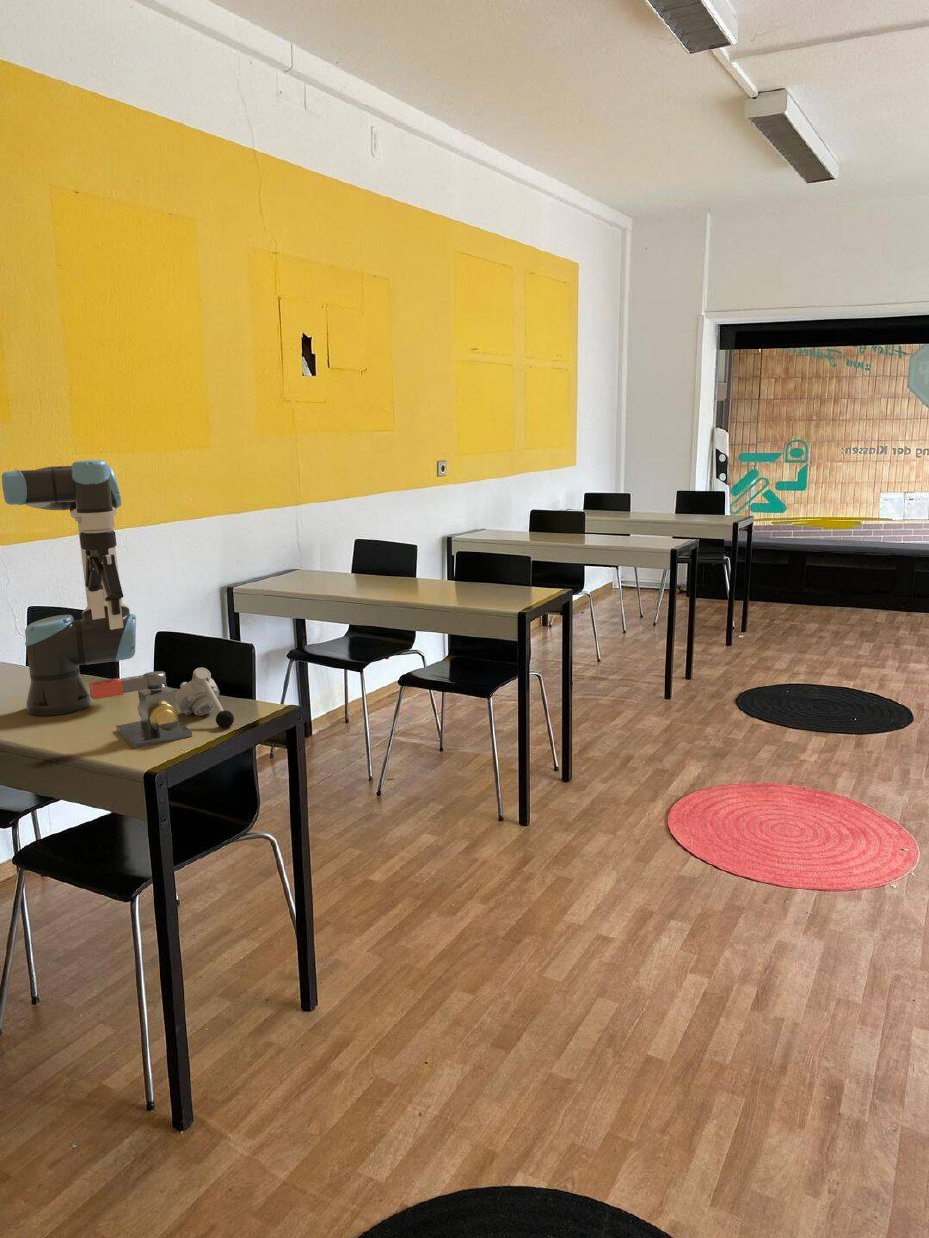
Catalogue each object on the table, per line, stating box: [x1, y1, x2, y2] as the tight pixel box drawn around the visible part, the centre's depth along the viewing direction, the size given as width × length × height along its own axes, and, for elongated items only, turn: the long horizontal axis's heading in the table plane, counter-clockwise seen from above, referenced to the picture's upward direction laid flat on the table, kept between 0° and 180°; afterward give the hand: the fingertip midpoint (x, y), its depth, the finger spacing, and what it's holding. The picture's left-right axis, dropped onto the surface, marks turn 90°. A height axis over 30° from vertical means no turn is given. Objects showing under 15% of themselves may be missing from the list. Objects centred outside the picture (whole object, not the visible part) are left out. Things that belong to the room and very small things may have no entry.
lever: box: [88, 670, 167, 700], centre depth 213 cm, size 5×16×3 cm, turn 124°
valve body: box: [115, 685, 193, 749], centre depth 216 cm, size 16×13×11 cm
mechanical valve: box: [174, 667, 235, 729], centre depth 227 cm, size 10×18×15 cm
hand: (107, 623), depth 213 cm, fingers open, 13 cm apart
